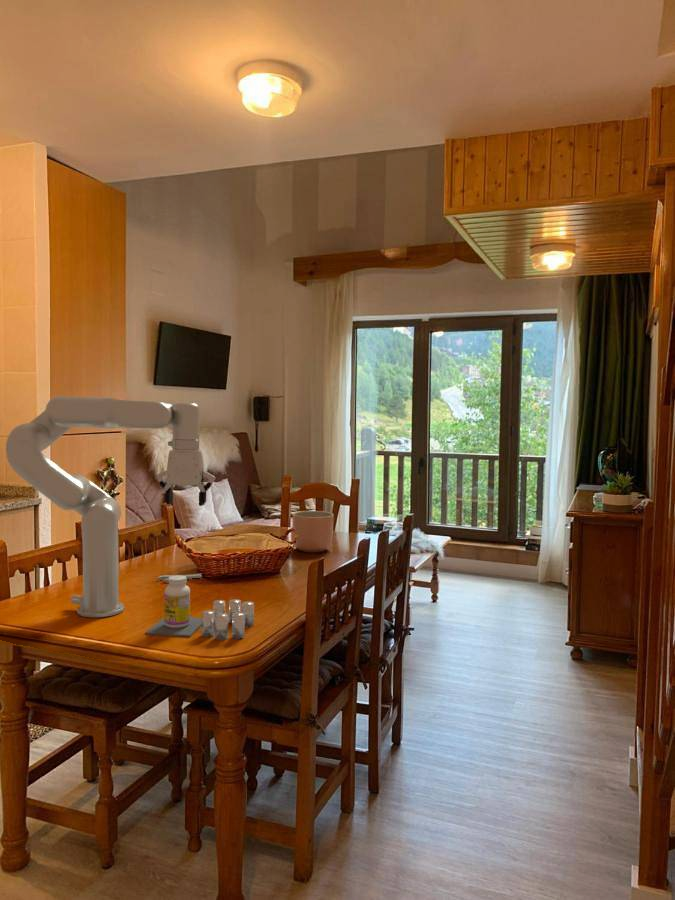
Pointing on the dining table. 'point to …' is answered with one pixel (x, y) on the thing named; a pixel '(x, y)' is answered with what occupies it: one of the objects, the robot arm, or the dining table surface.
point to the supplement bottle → (177, 602)
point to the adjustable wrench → (165, 577)
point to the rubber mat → (181, 632)
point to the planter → (313, 530)
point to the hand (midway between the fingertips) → (185, 504)
